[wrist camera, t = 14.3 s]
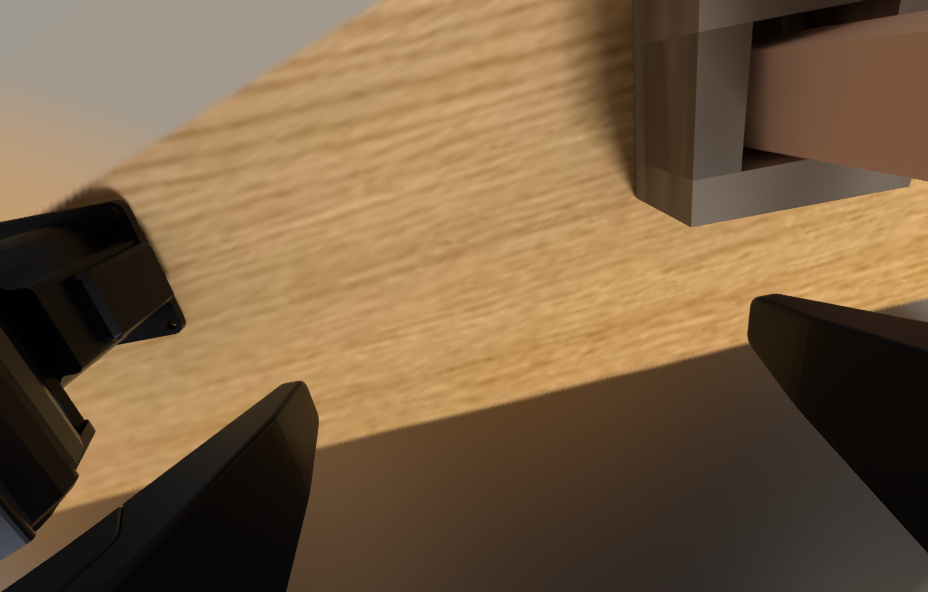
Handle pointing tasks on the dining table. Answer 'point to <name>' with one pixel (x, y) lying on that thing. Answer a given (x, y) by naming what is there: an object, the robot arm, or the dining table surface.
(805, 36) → the peg
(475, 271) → the dining table surface
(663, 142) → the socket block
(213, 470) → the robot arm
